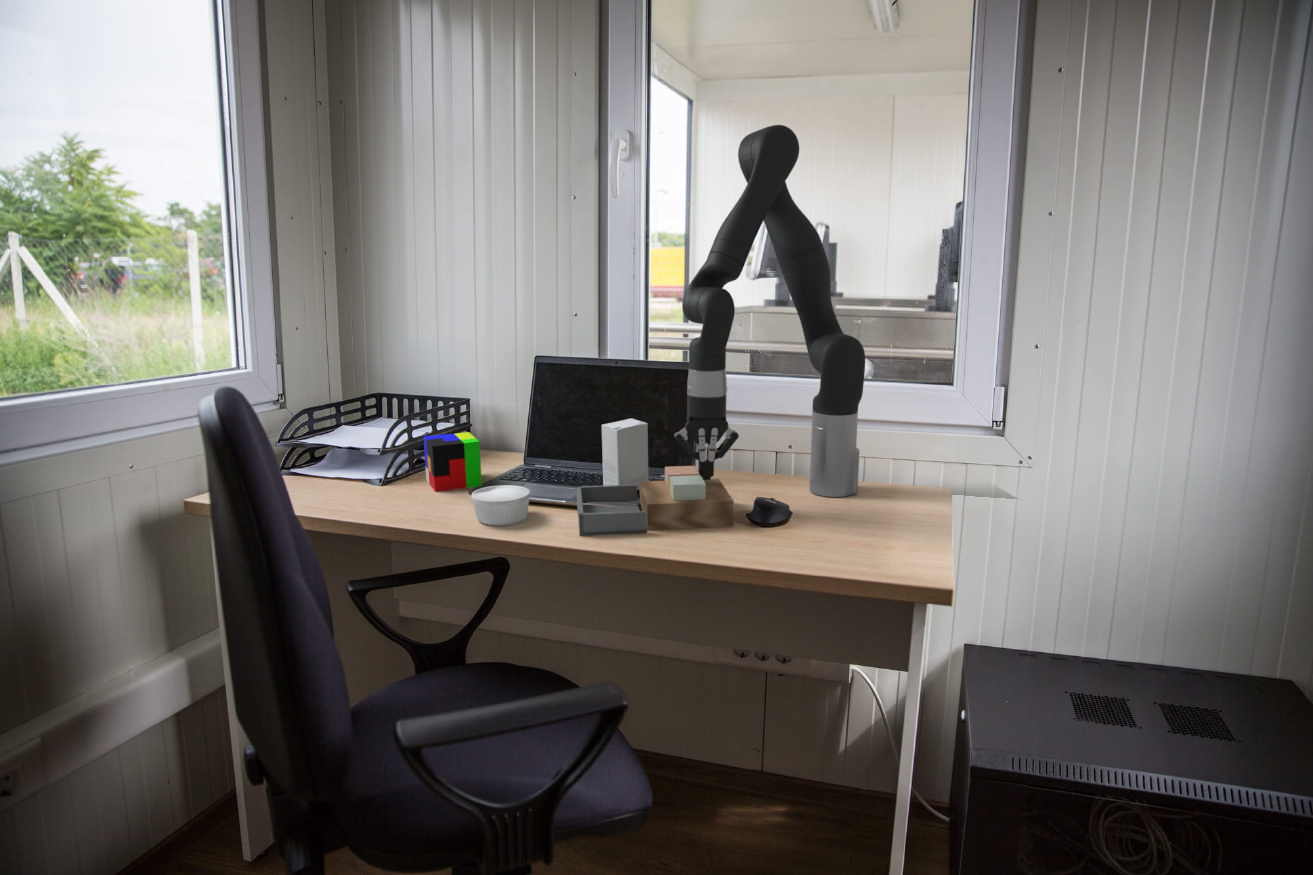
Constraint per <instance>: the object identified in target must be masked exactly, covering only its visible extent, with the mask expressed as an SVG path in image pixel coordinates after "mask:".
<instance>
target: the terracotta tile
mask: <svg viewBox="0 0 1313 875" xmlns="http://www.w3.org/2000/svg"><path fill="white" fill-rule="evenodd" d="M693 475H699V472H698V469H697V467H696V466H695V465H681V466H680V465H677V466H676V465H675V466H665V467H664V481H665V483H666V485H667V487H668V490H669V476H693Z"/></svg>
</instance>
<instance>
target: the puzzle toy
mask: <svg viewBox="0 0 1313 875" xmlns="http://www.w3.org/2000/svg"><path fill="white" fill-rule="evenodd" d="M480 442H481V441H479V440H478V439H477V438H476V437H475V436H474V435H473V434H471V432H469V431H465V432H457V433H446V434H436V435H427V436H423V449H424V450H423V452H424V465H425V476H426V477H425V478H426V481H427V483H428V484H429V486H430V487H431V489H432V490H433V491H434V493H437V492H438V493H439V492H444V491H452V490H453V491H454V490H461V489H470V488H477V487H478V488H479V487H482V486H483V484H482V464H481V445H480V444H481V443H480Z"/></svg>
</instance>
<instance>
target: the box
mask: <svg viewBox="0 0 1313 875" xmlns="http://www.w3.org/2000/svg"><path fill="white" fill-rule="evenodd" d="M630 501H637V502H638V492H637V484H633V485H606V486H603V485H584V486H583V485H581V486H576V507H577V519H578V520H577V521H578V532H579V533H578V534H579V536H580V537H583V536H584V537H585V536H586V537H587V536H607V535H610V536H612V535H633V534H646V531H647V530H646V529H647V527H646V512H645V511H641V509H640V507H639V506H640V505H639V504H629V505H638V506H625V507H607V506H606V507H604V506H596V505H595V506H593V505H583V504H582V503H587V502H630ZM631 503H633V502H631ZM625 505H626V504H625Z"/></svg>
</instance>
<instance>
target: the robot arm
mask: <svg viewBox="0 0 1313 875" xmlns="http://www.w3.org/2000/svg"><path fill="white" fill-rule="evenodd" d="M737 150H738V151H737V159H738V163H739V167H740V170H741V173H742V174H743V177H744V179H745V181H746V186H745V188H744V190H743V191H742V194H741V195H740V197H739V198H738V200H737V202H736V203H735V205H733V207H732V209H731V210H730V212H729V213H728V214H727V216H726V217H725V219H724V221H723V222H722V223H721V225H720V227H719V230H718V231H717V233H716V234H715V238H714V240H713V243H712V246H711V248H710V250H709V253H708V256H707V258H706V260H705V261H704V263H703V264H702V266H701V267H700V269H699V270H698V271H697V273H696V274H695V275H694V277H693V278H692V280H691V282H690V283H689V285H688V286H687V288H686V290H685V291H684V295H683V297H682V304H681V305H682V313H683V315H684V317H685V318H686V320H688V321H689V322H691V323H695V324H700V325H701V324H702V328H701V331H700V332H701V333H700V336H698V337H694V338H693V339H691V341H690V342H689V346H688V375H687V382H686V383H687V385H686V386H687V387H686V388H687V393H686V394H687V398H686V399H687V400H686V402H687V406H686V408H687V409H686V412H687V413H686V416H687V417H686V421H685V422H684V427H683V428H682V429H680V430H679V431H675V432H674V438H675V440H676V441H677V442H678V443H679V445H680V446H681V447H682V448H683V449H684V451H685V452H686V453H687V455H688V456H689V457H690V458H691V459H693V460H697V461H698V462H697V463H698V467H697V468H698V469H697V471H698V472H699V475H701V477H702V479H703V480H710V479H712V478H713V477H714V475H715V472H714V471H715V461H716V460H718V459H722V458H723V457H725V455H726V454H727V453H728V451H729V450H730V449H731V447H732V446H733V445H734V444H735V442H736V441H737V440H738V439H739V438H740V436H739V434H738V432H737V431H736V430H734V429H732V428H731V427H729V422H728V420H727V393H728V386H727V382H728V381H727V373H726V372H727V371H726V368H727V367H726V363H727V362H726V361H727V353H726V352H727V351H726V349H727V345H728V343H729V342H728V341H729V339H730V334H731V330H732V328H733V327H732V326H733V322H734V320H735V319H734V317H735V311H736V310H735V308H736V307H735V301H734V299H733V297H732V295H731V293H730V292H729V291H728V290H727V289H726V288H724V287H725V285H727V284H728V283H732V282H735V281H736V280H737V279H739V278H740V276H741V274H742V272H743V269H744V267H745V266H746V265H745V264H746V262H747V261H748V260H747V259H748V257H749V255H750V252H751V250H752V247H753V244H754V242H755V240H756V238H757V235H758V233H759V231H760V229H761V227H762V224H764V225H765V230H766V231H767V234H768V236H769V240H770V241H771V244H772V248H773V250H774V253H775V257H776V260H777V262H778V266H779V269H780V272H781V274H782V277H783V279H784V282H785V284H786V287H787V289H788V292H789V294H790V298H791V302H792V303H793V305H794V308H795V310H796V312H797V315H798V318H799V321H800V325H801V329H802V332H803V338H804V341H805V342H804V343H805V345H806V349H807V355H808V359H809V362H810V363H811V365H812V367H813V369H815V370H816V372H817V373H819V374H820V380H819V382H820V383H819V385H820V386H819V391H818V393H817V394H816V395H815V396H814V397H813V399H812V413H811V414H812V415H811V438H810V439H811V440H810V441H811V442H810V444H811V445H810V467H809V491H810V492H811V493H812V494H814V495H818V496H822V497H830V498H840V497H841V498H843V497H848V496H851V495H857V494H858V492H859V491H858V488H859V486H858V485H859V468H860V467H859V466H860V465H859V464H860V449H859V448H858V447H857V439H858V438H857V436H858V435H857V434H858V419H859V405H860V402H861V400H862V398H863V393H864V383H865V373H866V371H865V370H866V353H865V349H864V346H863V344H862V343H861V341H860V340H859V339H857V338H855V337H854V336H852V335H850V334H846V333H844V331H843V330H842V328H841V325H840V323H839V321H838V319H837V316H836V313H835V310H834V307H833V302H832V298H831V297H832V294H831V291H832V290H831V286H832V285H831V283H832V282H831V269H830V264H829V260H828V257H827V253H826V250H825V248H824V245H823V242H822V238H821V236H820V234H819V232H818V231H817V229H816V228H815V226H814V224H813V223H812V222H811V221H810V219H809V218H808V217H807V216H806V215H805V213H803V211H802V210H801V208H799V207H798V205H797V204H796V202H795V200H794V198H792V196H791V193H790V191H789V189H788V185H787V183H786V181H787V179H788V178H789V176H790V175H791V173H792V171H793V169H794V168H795V166H796V164H797V161H798V160H799V157H800V156H799V155H800V142H799V139H798V137H797V135H796V133H795V132H794V130H792V129H791V128H790V127H788V126H787V125H782V124H773V125H769V126H766V127H764V128H761V129H759V130H755V131H753V132H750V133H749V134H747V135H746V136H744V137H743V138H742V139H741V142H740V144H739V147H738V149H737ZM763 222H764V223H763ZM688 435H689V436H690V437H691V439H692V440H693V442H694V443H696V448H697V451H696V450H694V449H693V448H692V446H691V445H690V444H689V442H687V440H688V438H689V437H688ZM723 436H724V440H723V441H722V442H721V444H720V445H719V446H718V447H717V443H719V441H721V438H722V437H723Z"/></svg>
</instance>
